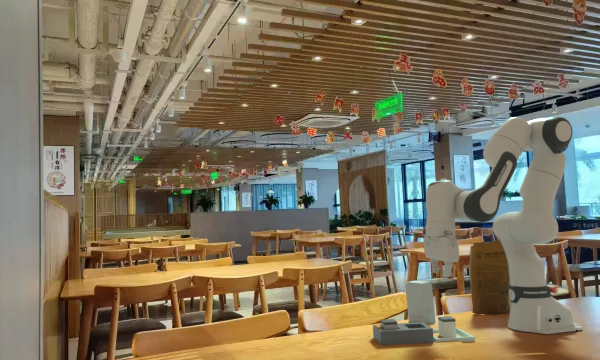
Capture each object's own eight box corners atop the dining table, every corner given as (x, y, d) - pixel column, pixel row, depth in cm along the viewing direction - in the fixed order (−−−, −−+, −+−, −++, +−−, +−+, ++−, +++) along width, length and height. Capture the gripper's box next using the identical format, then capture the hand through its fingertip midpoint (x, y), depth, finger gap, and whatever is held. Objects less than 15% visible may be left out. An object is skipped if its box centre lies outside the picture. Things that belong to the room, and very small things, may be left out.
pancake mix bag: (521, 313, 181) (516, 240, 184) (475, 316, 178) (470, 242, 181) (510, 310, 188) (506, 239, 190) (466, 313, 185) (461, 241, 187)
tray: (458, 333, 154) (457, 327, 154) (475, 343, 142) (474, 336, 142) (422, 335, 153) (422, 329, 153) (436, 345, 141) (436, 339, 141)
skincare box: (436, 323, 170) (433, 281, 171) (424, 326, 166) (422, 283, 167) (418, 319, 176) (416, 279, 178) (406, 322, 173) (404, 281, 174)
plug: (451, 335, 150) (450, 316, 150) (456, 338, 146) (455, 318, 146) (439, 336, 149) (438, 316, 150) (444, 339, 145) (442, 319, 146)
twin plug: (394, 338, 146) (393, 319, 147) (398, 342, 142) (397, 321, 143) (381, 339, 146) (380, 319, 146) (385, 342, 142) (384, 322, 142)
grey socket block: (423, 338, 149) (422, 320, 150) (433, 345, 140) (432, 326, 141) (373, 341, 148) (372, 322, 148) (381, 348, 139) (380, 329, 139)
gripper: (464, 231, 141) (465, 278, 140) (438, 230, 161) (439, 271, 160) (443, 231, 140) (444, 278, 139) (420, 230, 161) (420, 271, 160)
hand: (441, 274), depth 150 cm, fingers open, 8 cm apart
